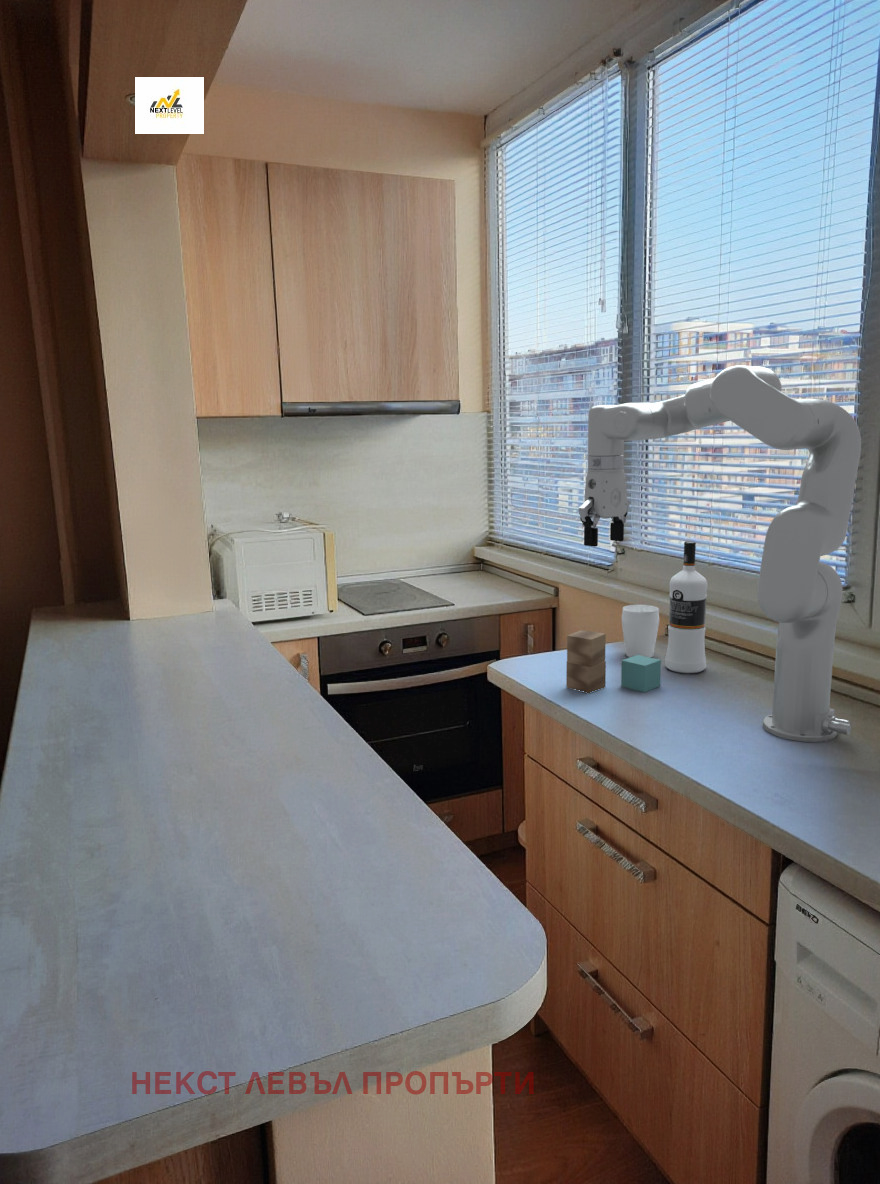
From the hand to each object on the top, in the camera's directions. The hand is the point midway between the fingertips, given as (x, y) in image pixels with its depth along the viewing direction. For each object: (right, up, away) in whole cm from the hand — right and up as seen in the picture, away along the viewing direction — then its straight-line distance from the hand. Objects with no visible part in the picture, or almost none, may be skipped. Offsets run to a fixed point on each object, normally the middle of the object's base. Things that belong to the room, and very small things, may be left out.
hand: (604, 543), depth 178 cm
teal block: (+8, -31, +1) cm, 32 cm away
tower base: (-4, -32, +1) cm, 32 cm away
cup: (+14, -27, +24) cm, 39 cm away
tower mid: (-4, -26, 0) cm, 26 cm away
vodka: (+22, -29, +13) cm, 38 cm away
